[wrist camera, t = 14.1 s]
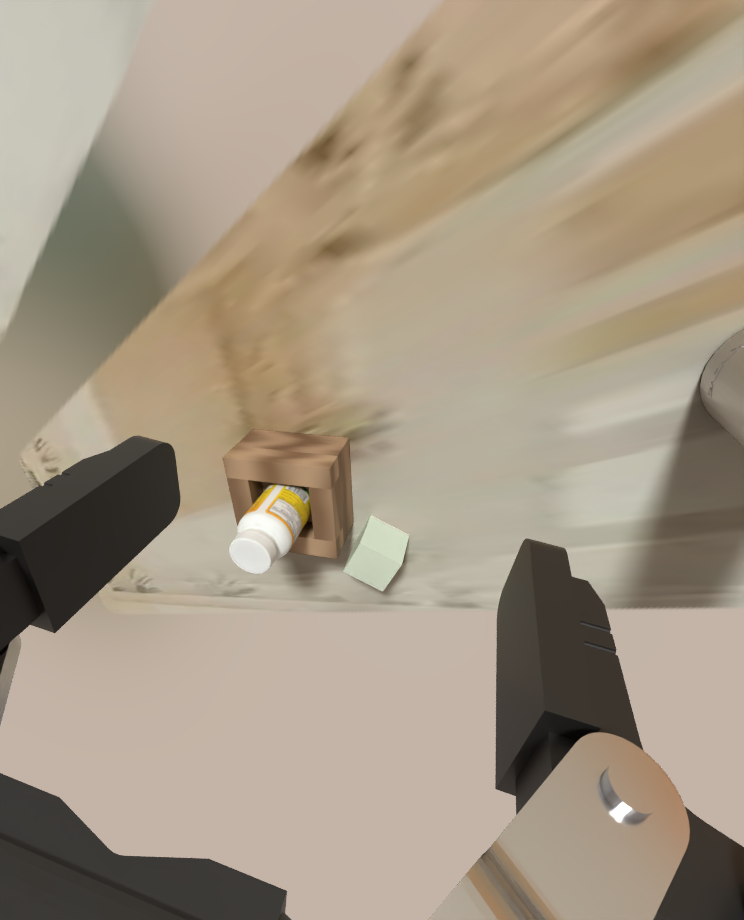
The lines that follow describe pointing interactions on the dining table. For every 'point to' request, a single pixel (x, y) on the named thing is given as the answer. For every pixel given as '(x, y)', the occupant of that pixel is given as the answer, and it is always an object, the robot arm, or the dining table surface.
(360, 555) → the green cube
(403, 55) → the dining table surface
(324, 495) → the brown open box
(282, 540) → the supplement bottle
